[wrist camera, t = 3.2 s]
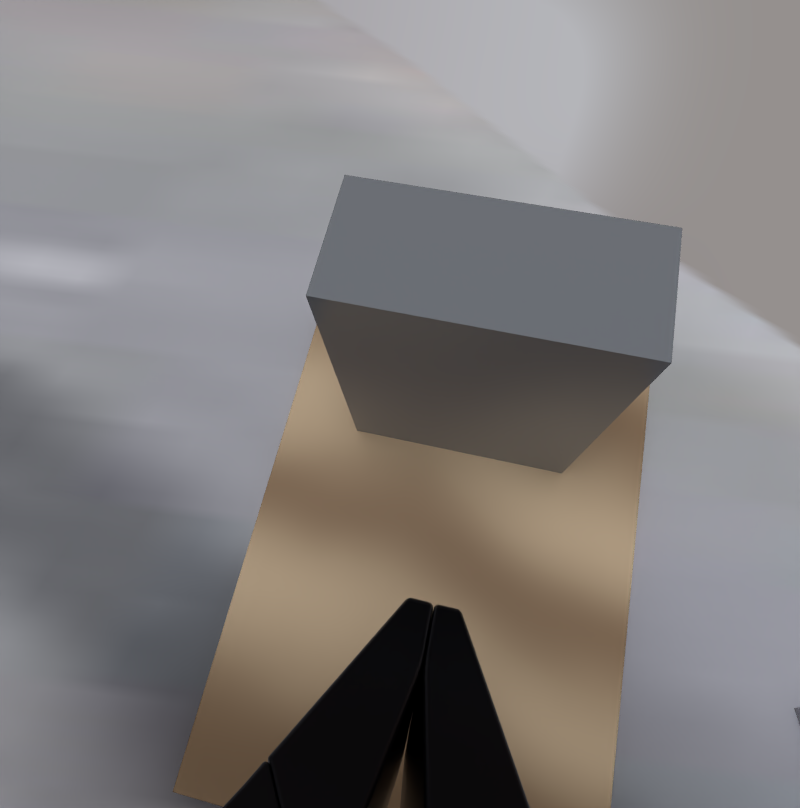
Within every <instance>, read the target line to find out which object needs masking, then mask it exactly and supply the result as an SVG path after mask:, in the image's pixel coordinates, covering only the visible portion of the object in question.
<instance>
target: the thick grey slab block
mask: <svg viewBox="0 0 800 808" xmlns="http://www.w3.org/2000/svg"><path fill="white" fill-rule="evenodd" d="M681 238H682V228H679V227H673V226H666V225H660V224H654V223H648V222H641V221H635V220H628V219H622V218H616V217H609V216H603V215H597V214H590V213H584V212H578V211H571V210H565V209H559V208H552V207H546V206H539V205H533V204H527V203H520V202H514V201H508V200H501V199H495V198H489V197H482V196H476V195H470V194H463V193H457V192H450V191H444V190H438V189H431V188H425V187H419V186H412V185H406V184H400V183H393V182H387V181H381V180H374V179H368V178H361V177H355V176H349V175H345V176H344V179H343V182H342V185H341V188H340V191H339V194H338V197H337V200H336V204H335V207H334V210H333V213H332V216H331V219H330V222H329V225H328V228H327V232H326V235H325V238H324V241H323V244H322V247H321V250H320V253H319V256H318V260H317V263H316V266H315V269H314V272H313V275H312V278H311V281H310V284H309V288H308V291H307V294H306V297H307V300H308V302H309V305H310V308H311V310H312V313H313V316H314V318H315V321H316V324H317V326H318V329H319V331H320V334H321V337H322V339H323V342H324V345H325V347H326V350H327V353H328V355H329V358H330V361H331V363H332V366H333V368H334V371H335V374H336V376H337V379H338V382H339V384H340V387H341V390H342V392H343V395H344V398H345V400H346V403H347V405H348V408H349V411H350V413H351V416H352V419H353V421H354V424H355V427H356V429H357V431H361V432H366V433H371V434H376V435H380V436H385V437H390V438H395V439H400V440H404V441H409V442H414V443H419V444H423V445H428V446H433V447H438V448H443V449H447V450H452V451H457V452H462V453H466V454H471V455H476V456H481V457H486V458H490V459H495V460H500V461H505V462H509V463H514V464H519V465H524V466H529V467H533V468H538V469H543V470H548V471H552V472H557V473H563V472H564V471H565V470H566V469H567V468H568V467H569V466H570V465H571V464H572V463H573V462H574V461H575V460H576V459H577V458H578V457H579V456H580V455H581V454H582V453H583V451H584V450H585V449H586V448H587V447H588V446H589V445H590V444H591V443H592V442H593V441H594V440H595V439H596V438H597V437H598V436H599V435H600V434H601V433H602V432H603V431H604V430H605V429H606V428H607V427H608V426H609V425H610V424H611V423H612V422H613V421H614V420H615V419H616V418H617V417H618V416H619V415H620V414H621V413H622V412H623V411H624V410H625V409H626V408H627V407H628V406H629V405H630V404H631V403H632V402H633V401H634V400H635V399H636V398H637V397H638V396H639V395H640V394H641V393H642V392H643V391H644V390H645V389H646V388H647V387H648V386H649V385H650V384H651V383H652V382H653V381H654V380H655V379H656V378H657V377H658V376H659V375H660V374H661V373H662V372H663V371H664V370H665V369H666V368H667V367H668V366H669V365H670V364H671V363H672V350H673V338H674V325H675V313H676V300H677V288H678V275H679V263H680V250H681Z"/></svg>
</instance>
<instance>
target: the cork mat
mask: <svg viewBox="0 0 800 808" xmlns="http://www.w3.org/2000/svg"><path fill="white" fill-rule="evenodd" d="M648 396H649V386H648V387H647V388H646V389H645V390H644V391H643V392H642V393H641V394H640V395H639V396H638V397H637V398H636V399H635V400H634V401H633V402H632V403H631V404H630V405H629V406H628V407H627V408H626V409H625V410H624V411H623V412H622V413H621V414H620V415H619V416H618V417H617V418H616V419H615V420H614V421H613V422H612V423H611V424H610V425H609V426H608V427H607V428H606V429H605V430H604V431H603V432H602V433H601V434H600V435H599V436H598V437H597V438H596V439H595V440H594V441H593V442H592V443H591V444H590V445H589V446H588V447H587V448H586V449H585V450H584V451H583V453H582V454H581V455H580V456H579V457H578V458H577V459H576V460H575V461H574V462H573V463H572V464H571V465H570V466H569V467H568V468H567V469H566V470H565V471H564V472H563V473H557V472H552V471H548V470H543V469H538V468H533V467H529V466H524V465H519V464H514V463H509V462H505V461H500V460H495V459H490V458H486V457H481V456H476V455H471V454H466V453H462V452H457V451H452V450H447V449H443V448H438V447H433V446H428V445H423V444H419V443H414V442H409V441H404V440H400V439H395V438H390V437H385V436H380V435H376V434H371V433H366V432H361V431H357V429H356V427H355V424H354V421H353V419H352V416H351V413H350V411H349V408H348V405H347V403H346V400H345V398H344V395H343V392H342V390H341V387H340V384H339V382H338V379H337V376H336V374H335V371H334V368H333V366H332V363H331V361H330V358H329V355H328V353H327V350H326V347H325V345H324V342H323V339H322V337H321V334H320V331H319V329H318V326H316V329H315V332H314V335H313V339H312V342H311V345H310V348H309V352H308V355H307V358H306V361H305V365H304V368H303V371H302V374H301V378H300V381H299V384H298V387H297V391H296V394H295V397H294V400H293V404H292V407H291V410H290V413H289V416H288V420H287V423H286V426H285V429H284V433H283V436H282V439H281V442H280V446H279V449H278V452H277V455H276V459H275V462H274V465H273V468H272V472H271V475H270V478H269V481H268V485H267V488H266V491H265V494H264V498H263V501H262V504H261V507H260V510H259V514H258V517H257V520H256V523H255V527H254V530H253V533H252V536H251V540H250V543H249V546H248V549H247V553H246V556H245V559H244V562H243V566H242V569H241V572H240V575H239V579H238V582H237V585H236V588H235V592H234V595H233V598H232V601H231V605H230V608H229V611H228V614H227V617H226V621H225V624H224V627H223V630H222V634H221V637H220V640H219V643H218V647H217V650H216V653H215V656H214V660H213V663H212V666H211V669H210V673H209V676H208V679H207V682H206V686H205V689H204V692H203V695H202V699H201V702H200V705H199V708H198V712H197V715H196V718H195V721H194V724H193V728H192V731H191V734H190V737H189V741H188V744H187V747H186V750H185V754H184V757H183V760H182V763H181V767H180V770H179V773H178V776H177V780H176V783H175V786H174V789H173V792H175V793H178V794H181V795H185V796H188V797H192V798H195V799H198V800H202V801H205V802H209V803H212V804H215V805H219V806H222V807H223V806H224V805H225V804H226V803H227V802H228V801H229V800H230V799H231V798H232V797H233V796H234V794H235V793H236V792H237V791H238V790H239V789H240V788H241V787H242V786H243V785H244V784H245V782H246V781H247V780H248V779H249V778H250V777H251V776H252V774H253V773H254V772H255V771H256V770H257V769H258V768H259V766H260V765H261V764H262V763H263V762H265V761H266V762H268V757H269V755H270V754H271V753H272V752H273V751H274V750H275V749H276V747H277V746H278V745H279V744H280V743H281V742H282V741H283V739H284V738H285V737H286V736H287V735H288V734H289V733H290V731H291V730H292V729H293V728H294V727H295V726H296V724H297V723H298V722H299V721H300V720H301V719H302V718H303V716H304V715H305V714H306V713H307V712H308V711H309V710H310V708H311V707H312V706H313V705H314V704H315V703H316V702H317V700H318V699H319V698H320V697H321V696H322V695H323V694H324V692H325V691H326V690H327V689H328V688H329V687H330V686H331V684H332V683H333V682H334V681H335V680H336V679H337V678H338V676H339V675H340V674H341V673H342V672H343V671H344V670H345V668H346V667H347V666H348V665H349V664H350V663H351V662H352V660H353V659H354V658H355V657H356V656H357V655H358V654H359V652H360V651H361V650H362V649H363V648H364V647H365V645H366V644H367V643H368V642H369V641H370V640H371V639H372V637H373V636H374V635H375V634H376V633H377V632H378V631H379V629H380V628H381V627H382V626H383V625H384V624H385V623H386V621H387V620H388V619H389V618H390V617H391V616H392V615H393V613H394V612H395V611H396V610H397V609H398V608H399V607H400V605H401V604H402V603H403V602H404V601H405V600H406V599H407V598H414V599H419V600H423V601H427V602H430V603H431V604H432V605H433V608H434V606H435V605H437V604H439V605H443V606H447V607H452V608H456V609H459V610H460V611H461V613H462V614H463V617H464V620H465V623H466V626H467V629H468V631H469V634H470V637H471V640H472V643H473V646H474V649H475V652H476V654H477V657H478V660H479V663H480V666H481V669H482V672H483V674H484V677H485V680H486V683H487V686H488V689H489V692H490V695H491V697H492V700H493V703H494V706H495V709H496V712H497V715H498V717H499V720H500V723H501V726H502V729H503V732H504V735H505V738H506V740H507V743H508V746H509V749H510V752H511V755H512V758H513V760H514V763H515V766H516V769H517V772H518V775H519V778H520V781H521V783H522V786H523V789H524V792H525V795H526V798H527V801H528V803H529V806H530V808H611V797H612V786H613V776H614V765H615V754H616V743H617V732H618V721H619V711H620V700H621V689H622V678H623V667H624V656H625V646H626V635H627V624H628V613H629V602H630V591H631V581H632V570H633V559H634V548H635V537H636V526H637V515H638V505H639V494H640V483H641V472H642V461H643V450H644V440H645V429H646V418H647V407H648ZM432 613H433V612H432ZM410 723H411V722H410ZM409 728H410V727H409ZM408 733H409V732H408ZM407 738H408V737H407ZM406 744H407V741H406ZM405 751H406V746H405V750H404V755H403V758H402V762H401V765H400V769H399V772H398V775H397V779H396V782H395V785H394V788H393V791H392V794H391V798H390V801H389V804H388V807H387V808H400V802H401V789H402V777H403V766H404V757H405Z"/></svg>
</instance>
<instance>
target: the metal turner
mask: <svg viewBox="0 0 800 808" xmlns="http://www.w3.org/2000/svg"><path fill="white" fill-rule="evenodd" d="M794 709H795V712H796V715H797V718H798V721H799V724H800V708H794Z"/></svg>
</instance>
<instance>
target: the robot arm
mask: <svg viewBox="0 0 800 808" xmlns="http://www.w3.org/2000/svg"><path fill="white" fill-rule="evenodd" d="M432 612H433V613H432ZM410 722H411V723H410ZM409 727H410V728H409ZM408 732H409V733H408ZM407 737H408V738H407ZM406 741H407V744H406ZM405 746H406V751H405V757H404V766H403V777H402V789H401V802H400V808H530V806H529V803H528V801H527V798H526V795H525V792H524V789H523V786H522V783H521V781H520V778H519V775H518V772H517V769H516V766H515V763H514V760H513V758H512V755H511V752H510V749H509V746H508V743H507V740H506V738H505V735H504V732H503V729H502V726H501V723H500V720H499V717H498V715H497V712H496V709H495V706H494V703H493V700H492V697H491V695H490V692H489V689H488V686H487V683H486V680H485V677H484V674H483V672H482V669H481V666H480V663H479V660H478V657H477V654H476V652H475V649H474V646H473V643H472V640H471V637H470V634H469V631H468V629H467V626H466V623H465V620H464V617H463V614H462V613H461V611H460V610H459V609H456V608H452V607H447V606H443V605H439V604H437V605H435V606H434V608H433V605H432V604H431V603H430V602H427V601H423V600H419V599H414V598H407V599H406V600H405V601H404V602H403V603H402V604H401V605H400V607H399V608H398V609H397V610H396V611H395V612H394V613H393V615H392V616H391V617H390V618H389V619H388V620H387V621H386V623H385V624H384V625H383V626H382V627H381V628H380V629H379V631H378V632H377V633H376V634H375V635H374V636H373V637H372V639H371V640H370V641H369V642H368V643H367V644H366V645H365V647H364V648H363V649H362V650H361V651H360V652H359V654H358V655H357V656H356V657H355V658H354V659H353V660H352V662H351V663H350V664H349V665H348V666H347V667H346V668H345V670H344V671H343V672H342V673H341V674H340V675H339V676H338V678H337V679H336V680H335V681H334V682H333V683H332V684H331V686H330V687H329V688H328V689H327V690H326V691H325V692H324V694H323V695H322V696H321V697H320V698H319V699H318V700H317V702H316V703H315V704H314V705H313V706H312V707H311V708H310V710H309V711H308V712H307V713H306V714H305V715H304V716H303V718H302V719H301V720H300V721H299V722H298V723H297V724H296V726H295V727H294V728H293V729H292V730H291V731H290V733H289V734H288V735H287V736H286V737H285V738H284V739H283V741H282V742H281V743H280V744H279V745H278V746H277V747H276V749H275V750H274V751H273V752H272V753H271V754H270V755H269V757H268V762H266V761H265V762H263V763H262V764H261V765H260V766H259V768H258V769H257V770H256V771H255V772H254V773H253V774H252V776H251V777H250V778H249V779H248V780H247V781H246V782H245V784H244V785H243V786H242V787H241V788H240V789H239V790H238V791H237V792H236V793H235V794H234V796H233V797H232V798H231V799H230V800H229V801H228V802H227V803H226V804H225V805H224V806H223V807H222V808H387V807H388V804H389V801H390V798H391V794H392V791H393V788H394V785H395V782H396V779H397V775H398V772H399V769H400V765H401V762H402V758H403V755H404V750H405Z"/></svg>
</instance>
